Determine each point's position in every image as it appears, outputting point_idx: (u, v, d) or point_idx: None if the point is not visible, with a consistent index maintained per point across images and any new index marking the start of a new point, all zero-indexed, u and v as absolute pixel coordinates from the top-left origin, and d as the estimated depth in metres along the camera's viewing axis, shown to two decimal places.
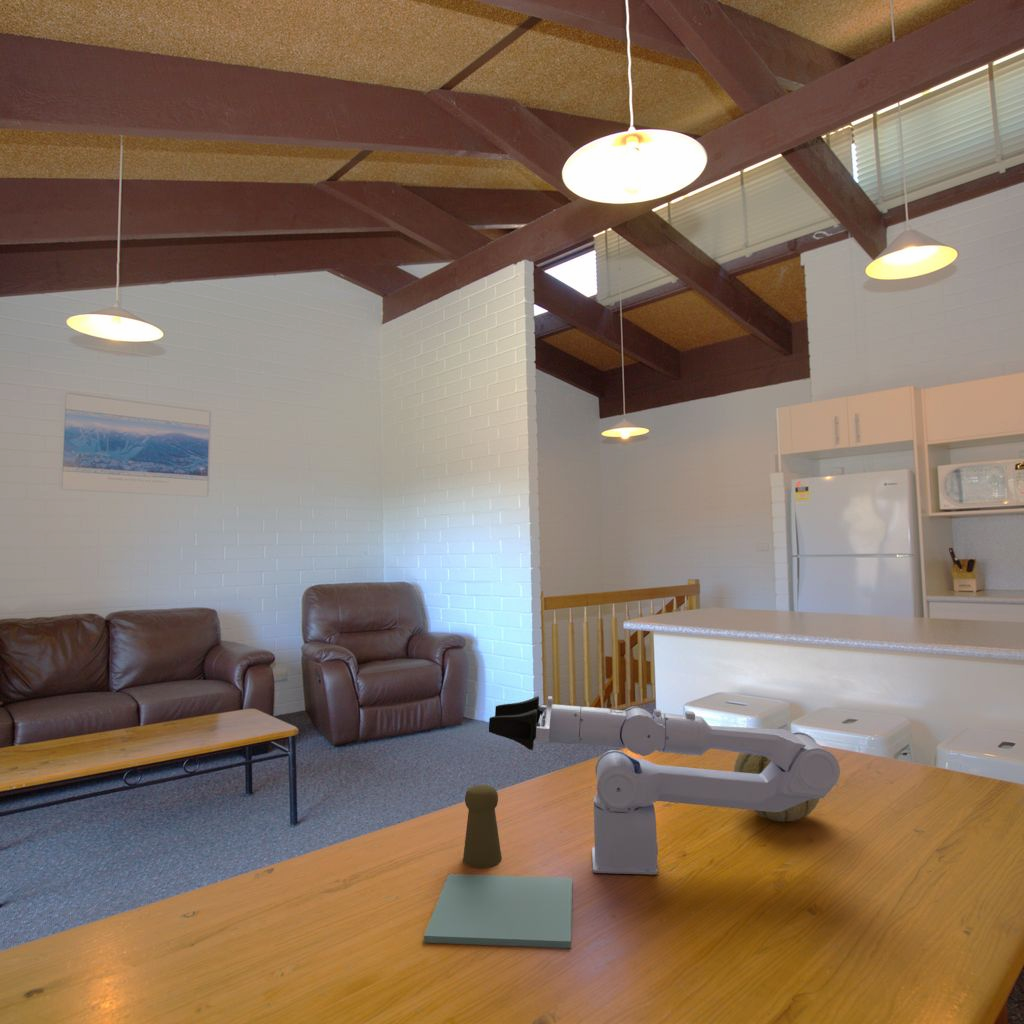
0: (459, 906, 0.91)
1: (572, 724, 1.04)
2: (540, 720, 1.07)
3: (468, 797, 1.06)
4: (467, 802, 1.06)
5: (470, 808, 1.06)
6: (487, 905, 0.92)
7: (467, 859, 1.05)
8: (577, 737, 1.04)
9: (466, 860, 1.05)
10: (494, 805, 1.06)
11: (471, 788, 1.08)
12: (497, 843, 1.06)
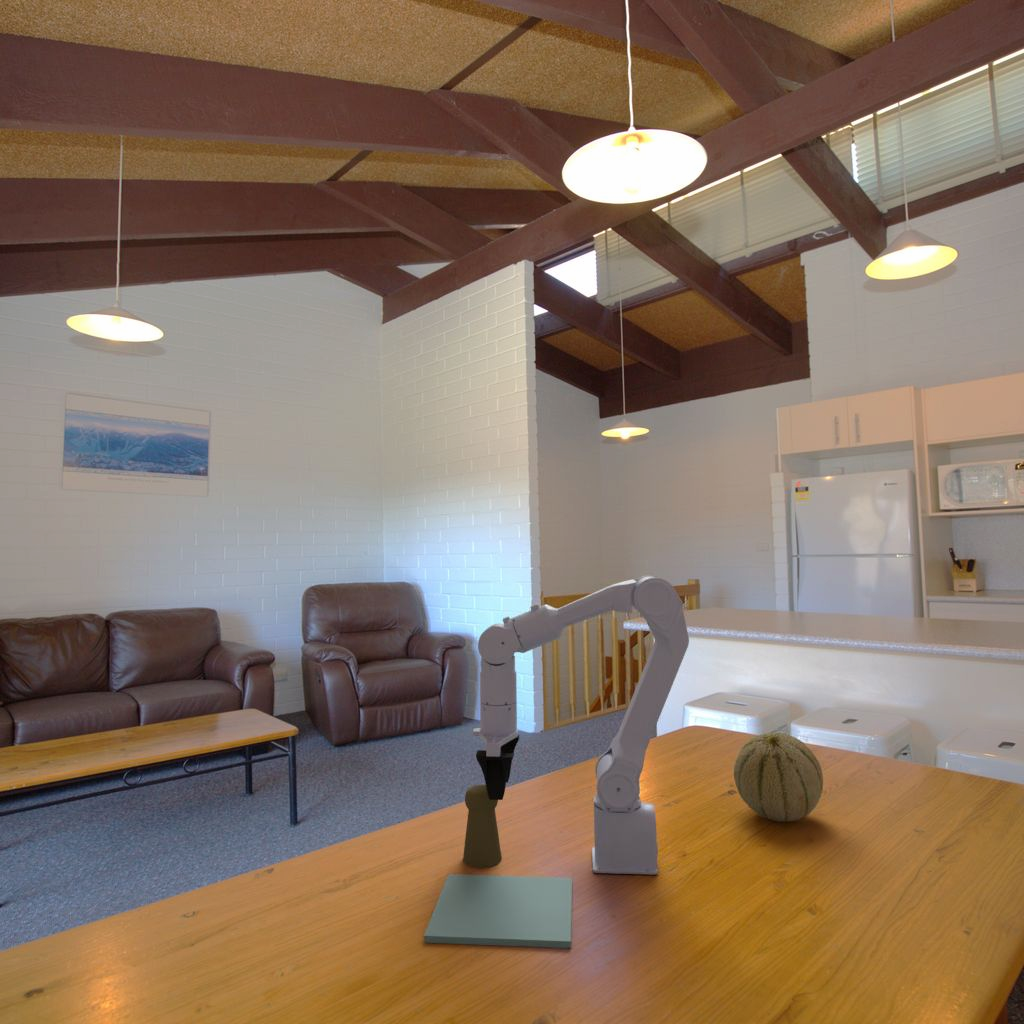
0: (459, 906, 0.91)
1: (491, 712, 1.05)
2: None
3: (468, 797, 1.06)
4: (467, 802, 1.06)
5: (470, 808, 1.06)
6: (487, 905, 0.92)
7: (467, 859, 1.05)
8: (504, 707, 1.05)
9: (466, 860, 1.05)
10: (494, 805, 1.06)
11: (471, 788, 1.08)
12: (497, 843, 1.06)
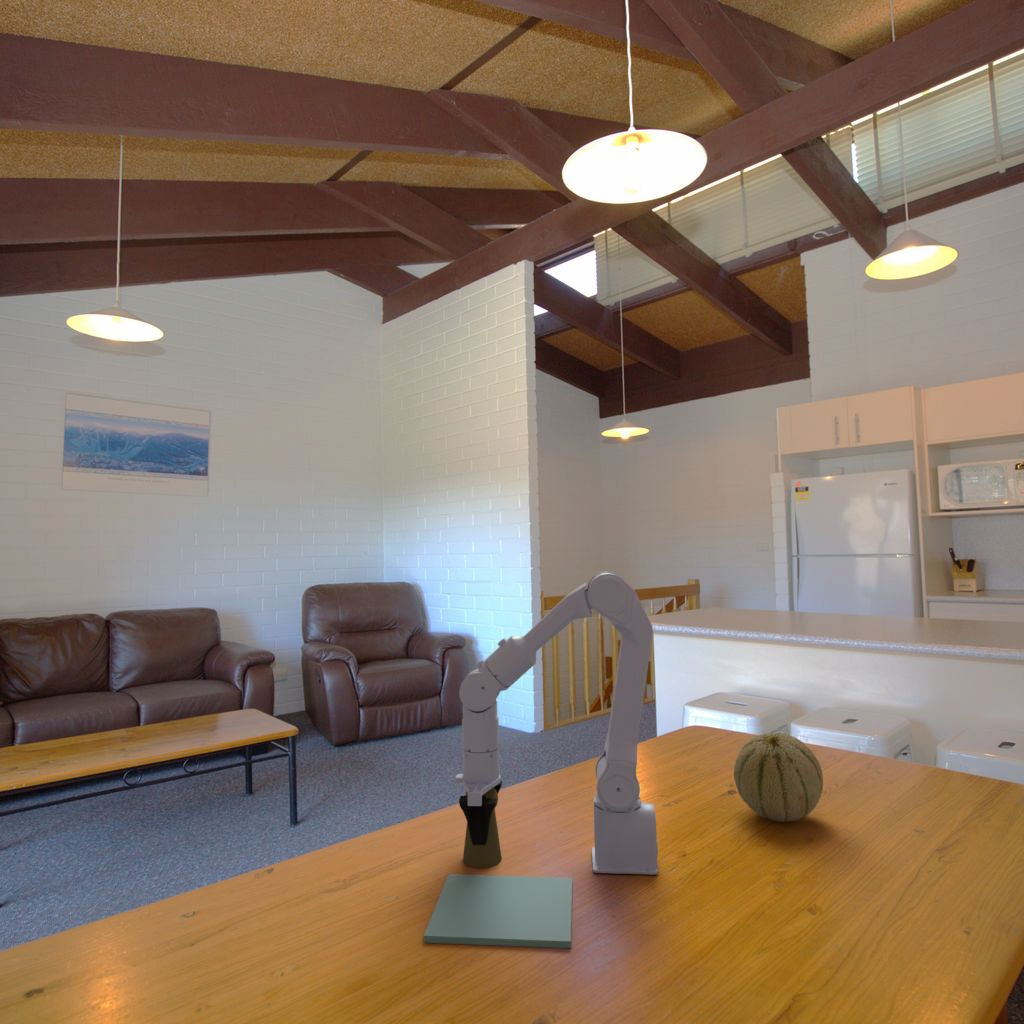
0: (459, 906, 0.91)
1: (473, 760, 1.05)
2: None
3: None
4: None
5: None
6: (487, 905, 0.92)
7: (467, 859, 1.05)
8: (485, 754, 1.05)
9: (466, 860, 1.05)
10: None
11: None
12: (496, 843, 1.06)
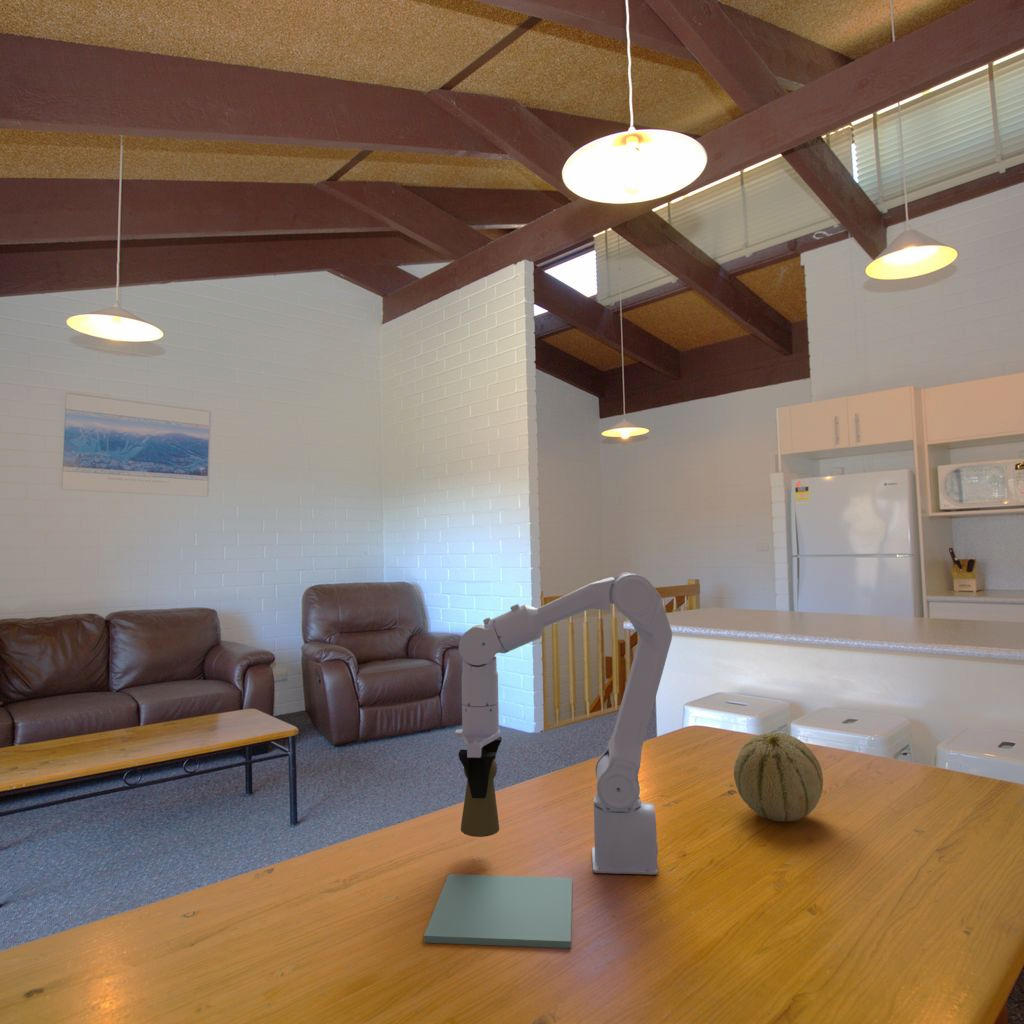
0: (459, 906, 0.91)
1: (472, 713, 1.06)
2: None
3: None
4: None
5: None
6: (487, 905, 0.92)
7: (464, 828, 1.06)
8: (485, 708, 1.06)
9: (463, 829, 1.06)
10: (492, 775, 1.06)
11: None
12: (494, 813, 1.06)
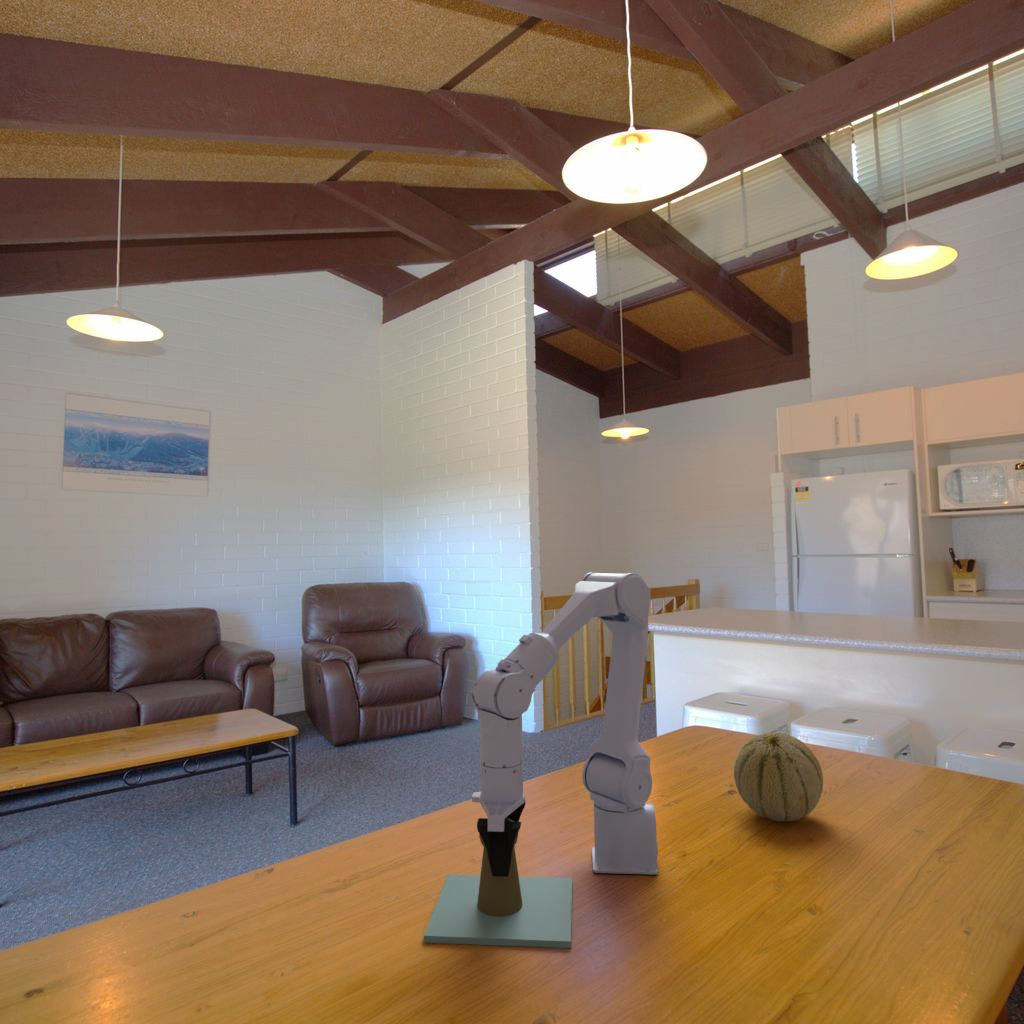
0: (459, 906, 0.91)
1: (493, 776, 0.90)
2: None
3: None
4: None
5: None
6: None
7: (482, 905, 0.90)
8: (508, 769, 0.90)
9: (481, 906, 0.90)
10: None
11: None
12: (516, 887, 0.91)
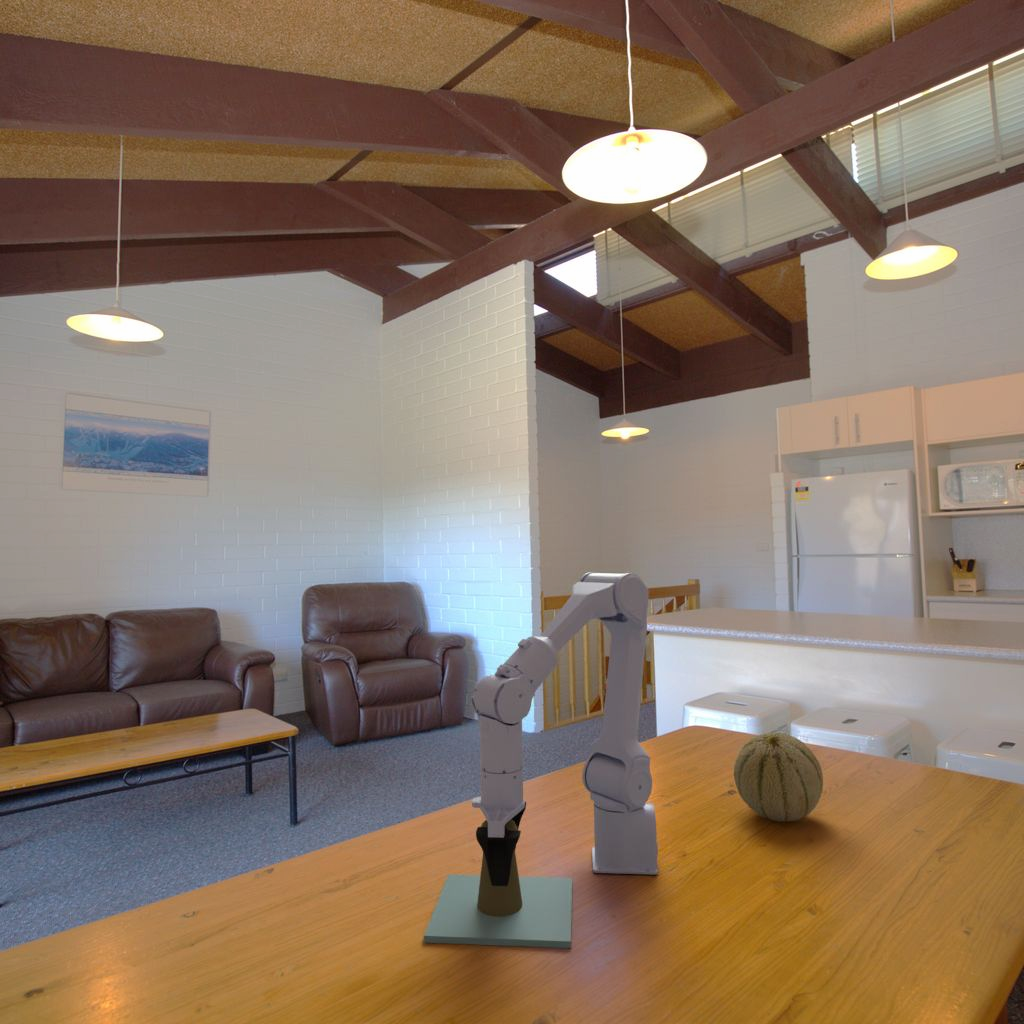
0: (459, 906, 0.91)
1: (493, 782, 0.90)
2: None
3: None
4: None
5: None
6: None
7: (482, 905, 0.90)
8: (508, 775, 0.90)
9: (481, 906, 0.90)
10: None
11: (487, 821, 0.92)
12: (516, 887, 0.91)
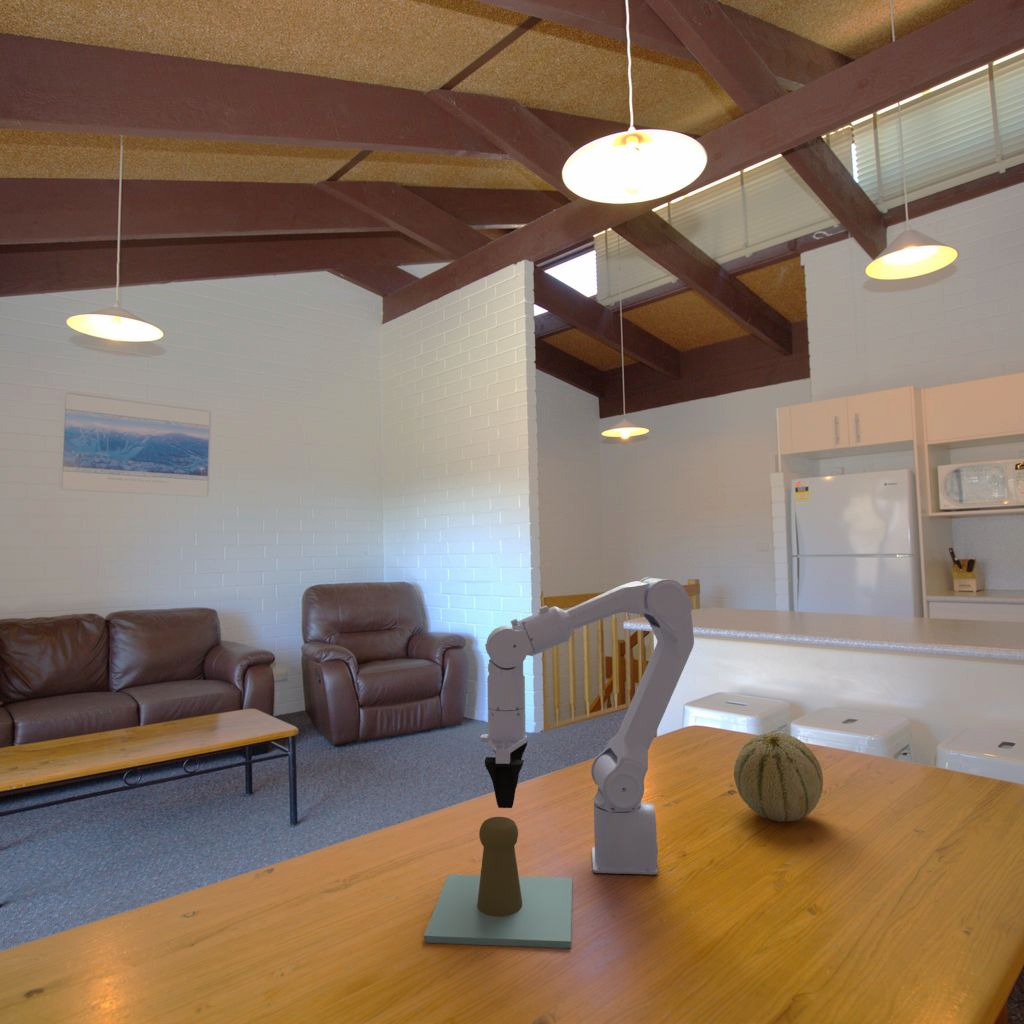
0: (459, 906, 0.91)
1: (499, 718, 1.02)
2: None
3: (483, 832, 0.91)
4: (482, 838, 0.91)
5: (485, 845, 0.91)
6: None
7: (482, 905, 0.90)
8: (512, 712, 1.02)
9: (481, 906, 0.90)
10: (513, 842, 0.91)
11: (487, 821, 0.92)
12: (516, 887, 0.91)
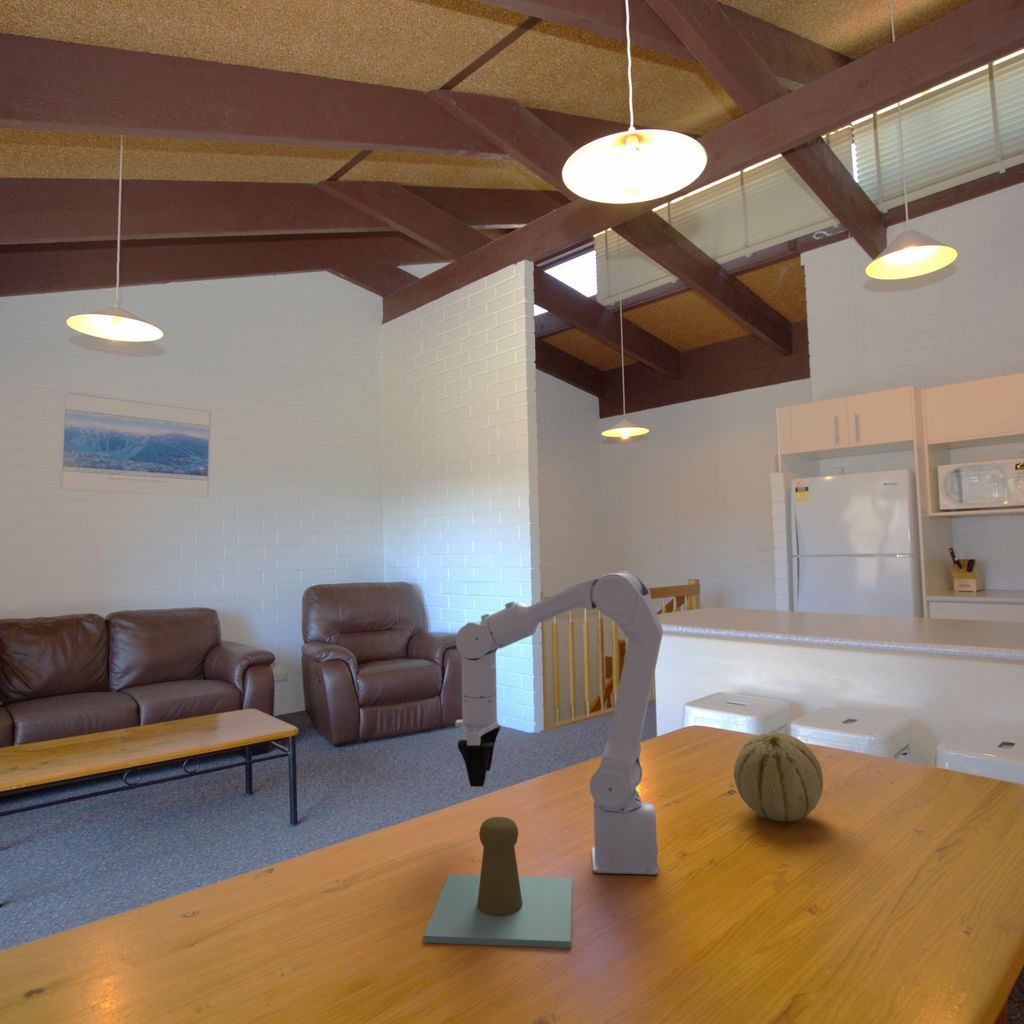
0: (459, 906, 0.91)
1: (472, 704, 1.12)
2: None
3: (483, 832, 0.91)
4: (482, 838, 0.91)
5: (485, 845, 0.91)
6: None
7: (482, 905, 0.90)
8: (484, 699, 1.12)
9: (481, 906, 0.90)
10: (513, 842, 0.91)
11: (487, 821, 0.92)
12: (516, 887, 0.91)
